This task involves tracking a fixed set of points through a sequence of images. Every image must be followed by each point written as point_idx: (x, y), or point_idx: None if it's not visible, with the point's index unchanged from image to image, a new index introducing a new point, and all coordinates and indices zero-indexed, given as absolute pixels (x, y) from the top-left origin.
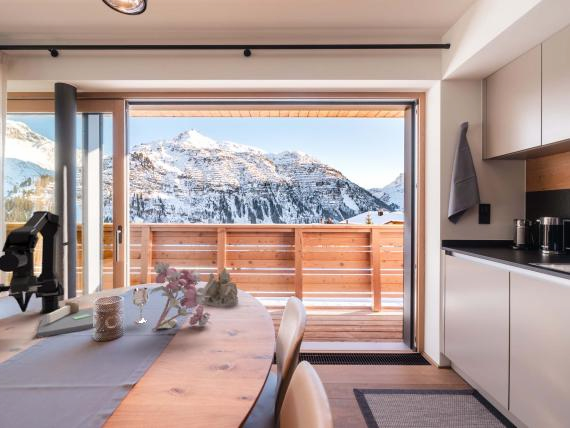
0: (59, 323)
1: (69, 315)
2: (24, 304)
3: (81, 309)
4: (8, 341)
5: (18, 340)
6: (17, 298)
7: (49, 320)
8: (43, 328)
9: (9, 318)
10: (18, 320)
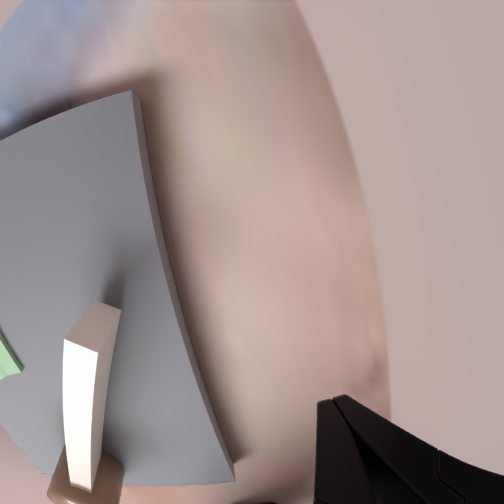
0: (45, 290)
1: None
2: (357, 463)
3: None
4: (317, 106)
5: (255, 94)
6: (494, 498)
7: (92, 311)
8: (111, 202)
9: None
10: None
